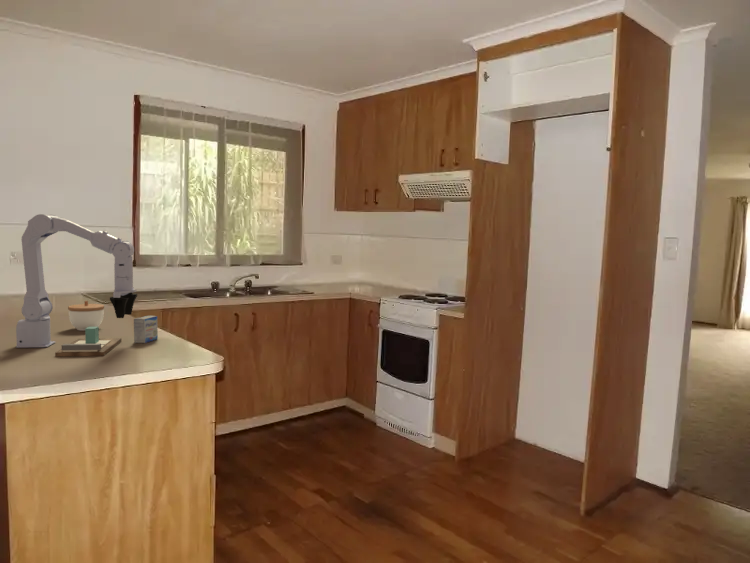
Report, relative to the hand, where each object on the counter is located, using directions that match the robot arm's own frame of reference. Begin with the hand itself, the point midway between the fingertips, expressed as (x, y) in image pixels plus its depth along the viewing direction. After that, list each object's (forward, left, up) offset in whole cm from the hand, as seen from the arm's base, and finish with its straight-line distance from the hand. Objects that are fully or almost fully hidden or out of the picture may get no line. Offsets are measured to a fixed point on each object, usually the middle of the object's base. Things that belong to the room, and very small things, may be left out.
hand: (124, 316), depth 193 cm
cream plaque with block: (-9, -4, -9) cm, 13 cm away
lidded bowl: (-21, +31, -10) cm, 39 cm away
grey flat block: (-9, -12, -9) cm, 17 cm away
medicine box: (+6, +6, -10) cm, 13 cm away
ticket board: (-9, -6, -10) cm, 15 cm away
